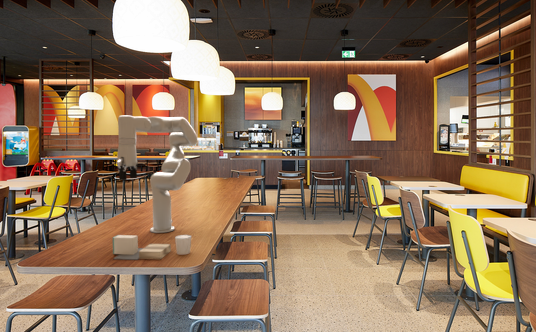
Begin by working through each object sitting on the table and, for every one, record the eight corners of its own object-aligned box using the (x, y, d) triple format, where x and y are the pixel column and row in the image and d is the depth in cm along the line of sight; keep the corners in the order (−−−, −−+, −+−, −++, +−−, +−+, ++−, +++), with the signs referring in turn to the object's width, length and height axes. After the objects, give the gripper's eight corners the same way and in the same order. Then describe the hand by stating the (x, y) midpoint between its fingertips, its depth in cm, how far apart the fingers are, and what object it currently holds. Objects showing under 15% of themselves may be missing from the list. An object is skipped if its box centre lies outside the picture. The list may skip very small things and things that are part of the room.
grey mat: (130, 248, 150) (130, 247, 150) (152, 249, 149) (152, 248, 149) (113, 259, 136) (113, 258, 136) (137, 259, 135) (137, 259, 135)
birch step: (150, 250, 148) (150, 243, 148) (170, 250, 147) (170, 244, 147) (139, 258, 137) (138, 251, 137) (160, 259, 136) (160, 252, 136)
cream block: (138, 251, 145) (118, 251, 146) (137, 235, 144) (117, 235, 145) (133, 254, 141) (112, 253, 142) (133, 238, 140) (112, 237, 141)
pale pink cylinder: (172, 252, 145) (171, 236, 144) (186, 249, 150) (186, 233, 149) (180, 256, 140) (180, 239, 140) (194, 252, 145) (194, 236, 144)
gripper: (129, 142, 166) (129, 177, 167) (109, 142, 148) (110, 180, 149) (143, 142, 165) (144, 177, 166) (125, 142, 148) (126, 181, 149)
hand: (128, 179), depth 158 cm, fingers open, 9 cm apart
